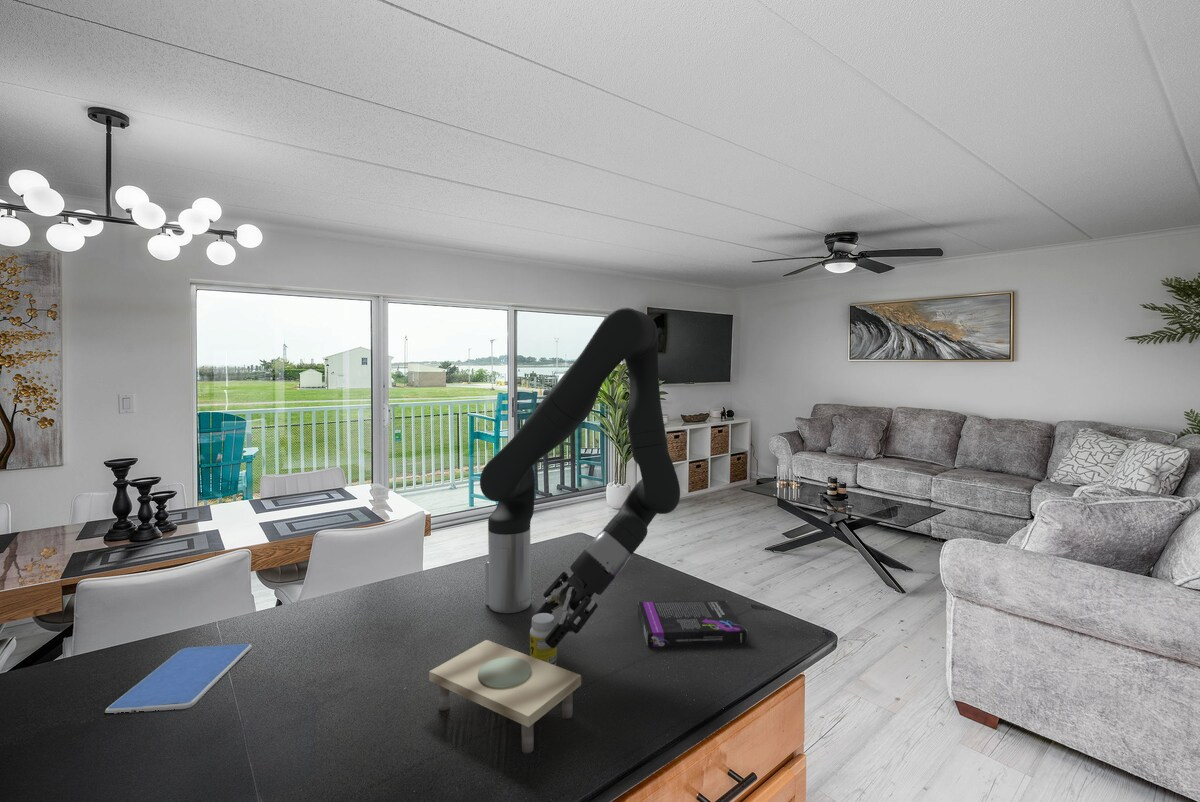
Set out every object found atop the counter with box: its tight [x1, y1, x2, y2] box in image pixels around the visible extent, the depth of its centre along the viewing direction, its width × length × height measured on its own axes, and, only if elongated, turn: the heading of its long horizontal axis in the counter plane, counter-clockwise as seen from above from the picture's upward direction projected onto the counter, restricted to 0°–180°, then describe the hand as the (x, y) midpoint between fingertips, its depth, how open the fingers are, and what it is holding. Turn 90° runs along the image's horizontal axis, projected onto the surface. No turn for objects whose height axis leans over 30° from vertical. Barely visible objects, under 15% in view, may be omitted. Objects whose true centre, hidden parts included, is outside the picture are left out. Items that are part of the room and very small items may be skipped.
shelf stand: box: [428, 639, 582, 754], centre depth 84 cm, size 20×12×6 cm, turn 56°
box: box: [637, 600, 749, 648], centre depth 111 cm, size 14×4×20 cm
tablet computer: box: [104, 643, 253, 714], centre depth 93 cm, size 19×13×1 cm, turn 7°
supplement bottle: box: [529, 613, 558, 666], centre depth 97 cm, size 5×5×8 cm
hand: (541, 634), depth 97 cm, fingers open, 8 cm apart
